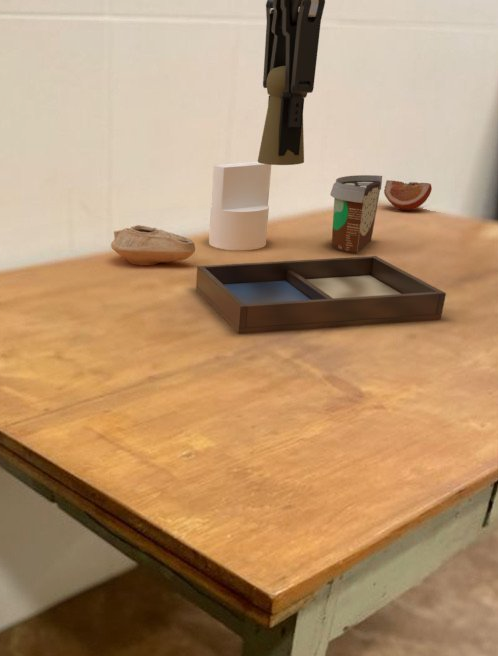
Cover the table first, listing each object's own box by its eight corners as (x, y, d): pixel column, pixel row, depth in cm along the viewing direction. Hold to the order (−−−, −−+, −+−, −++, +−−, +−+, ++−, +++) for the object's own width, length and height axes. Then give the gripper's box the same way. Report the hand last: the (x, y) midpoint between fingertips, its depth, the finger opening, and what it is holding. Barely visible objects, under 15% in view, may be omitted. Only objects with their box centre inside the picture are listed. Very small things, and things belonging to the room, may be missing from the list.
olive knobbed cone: (294, 166, 103) (303, 67, 98) (250, 163, 106) (256, 66, 100) (310, 160, 108) (320, 65, 102) (267, 157, 110) (274, 64, 105)
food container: (335, 237, 134) (343, 172, 129) (372, 241, 131) (383, 175, 126) (313, 254, 124) (322, 184, 119) (354, 258, 122) (364, 187, 117)
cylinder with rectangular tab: (245, 236, 135) (251, 158, 128) (276, 248, 128) (284, 166, 121) (198, 242, 131) (202, 162, 125) (227, 254, 124) (233, 170, 118)
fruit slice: (376, 209, 153) (380, 181, 151) (390, 204, 158) (394, 176, 155) (419, 214, 149) (425, 185, 146) (432, 209, 154) (437, 180, 151)
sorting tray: (371, 281, 111) (375, 255, 109) (440, 322, 96) (446, 293, 94) (195, 292, 107) (196, 265, 105) (238, 337, 92) (240, 306, 90)
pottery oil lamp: (183, 273, 114) (161, 229, 110) (119, 289, 122) (96, 248, 118) (208, 239, 118) (187, 195, 114) (145, 256, 126) (123, 215, 122)
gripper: (245, -61, 101) (234, 145, 113) (295, -76, 86) (276, 162, 99) (303, -61, 102) (285, 143, 114) (361, -75, 87) (334, 160, 100)
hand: (281, 152), depth 106 cm, fingers closed on olive knobbed cone, 4 cm apart
